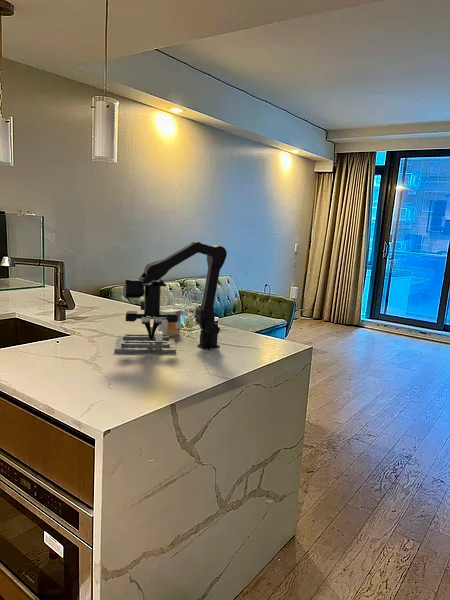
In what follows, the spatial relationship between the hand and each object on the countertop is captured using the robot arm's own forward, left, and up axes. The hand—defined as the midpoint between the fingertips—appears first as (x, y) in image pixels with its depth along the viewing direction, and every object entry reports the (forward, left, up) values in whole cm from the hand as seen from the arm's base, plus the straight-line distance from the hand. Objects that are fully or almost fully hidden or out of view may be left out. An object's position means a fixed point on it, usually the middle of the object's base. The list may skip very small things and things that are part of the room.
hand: (151, 339), depth 170 cm
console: (+4, -1, -4) cm, 6 cm away
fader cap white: (-2, -2, -2) cm, 4 cm away
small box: (+12, -20, -4) cm, 24 cm away
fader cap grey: (+8, -6, -2) cm, 10 cm away
